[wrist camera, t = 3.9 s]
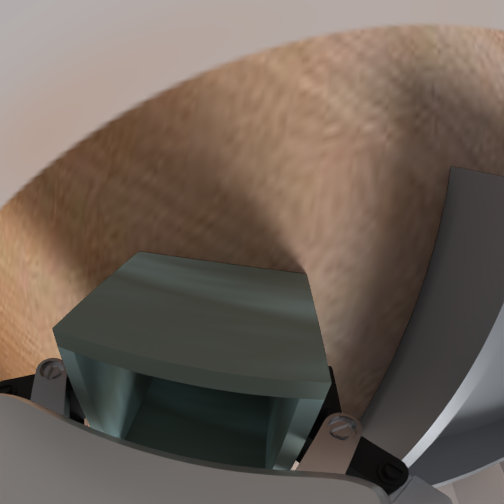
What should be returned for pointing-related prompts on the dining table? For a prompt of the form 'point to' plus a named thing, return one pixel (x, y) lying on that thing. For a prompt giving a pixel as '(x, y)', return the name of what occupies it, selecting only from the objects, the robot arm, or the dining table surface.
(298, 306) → the teal crate
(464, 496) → the milk carton
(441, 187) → the dining table surface
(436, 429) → the charcoal crate
